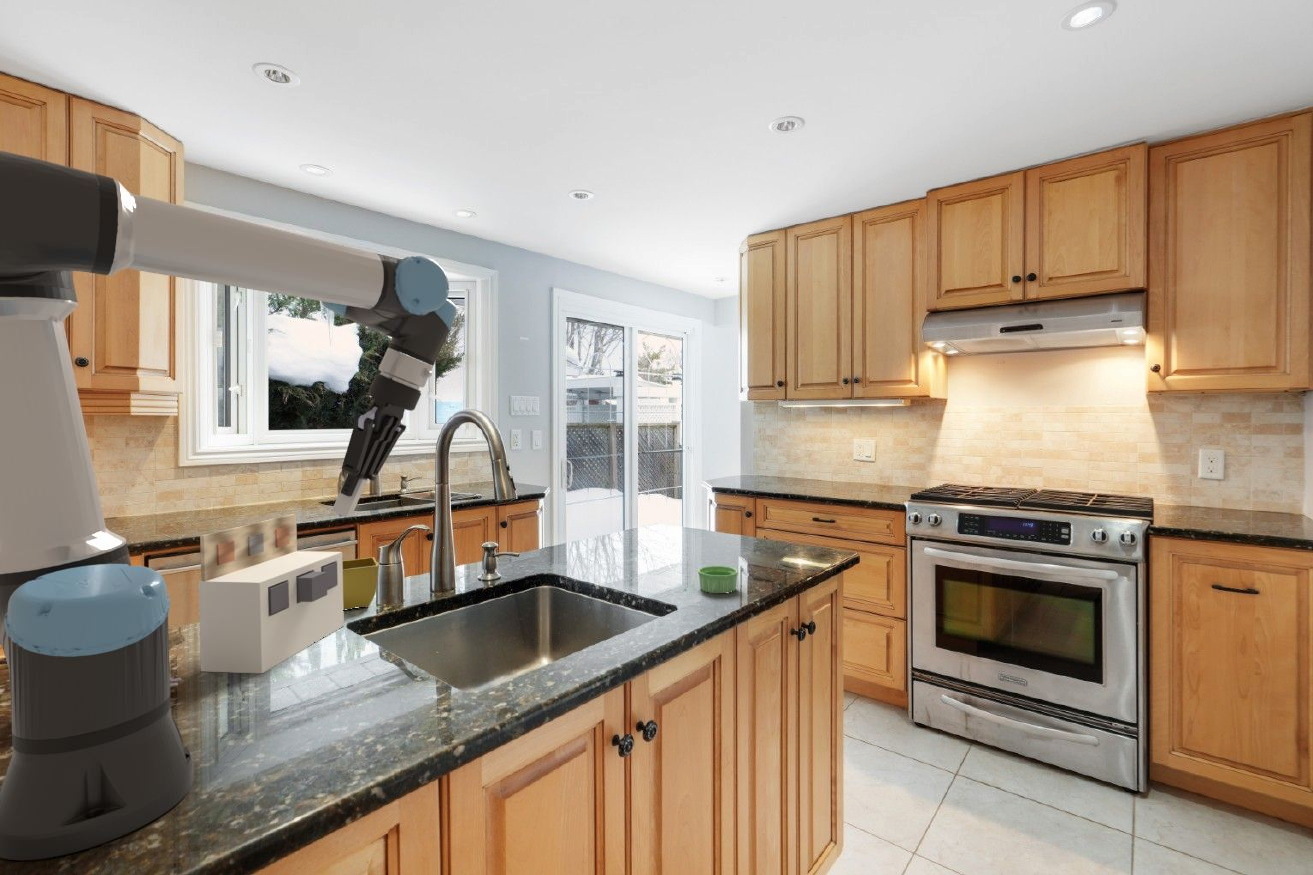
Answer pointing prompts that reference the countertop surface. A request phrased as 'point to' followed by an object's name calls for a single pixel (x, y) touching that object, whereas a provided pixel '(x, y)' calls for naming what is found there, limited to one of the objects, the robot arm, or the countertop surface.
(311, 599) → the middle button
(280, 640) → the console
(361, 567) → the flower pot
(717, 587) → the ramekin
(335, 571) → the right button
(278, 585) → the left button
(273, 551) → the pattern sign
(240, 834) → the countertop surface
